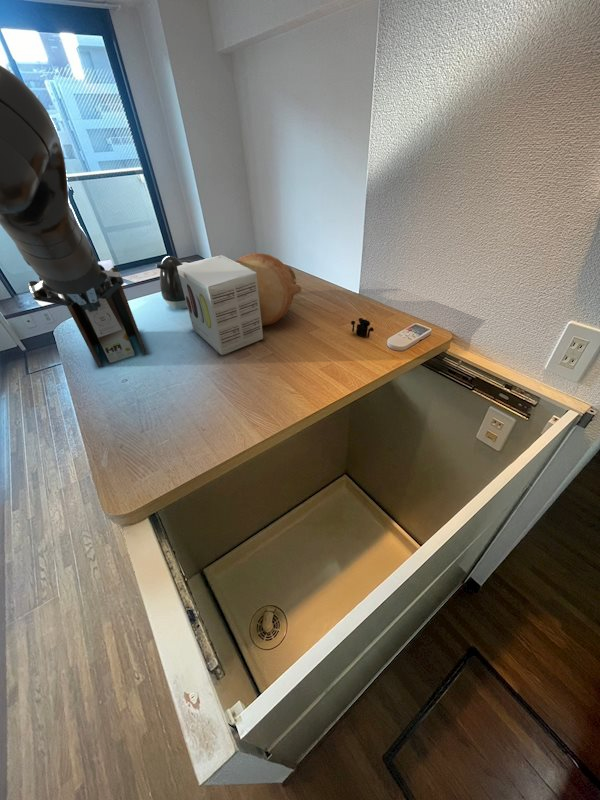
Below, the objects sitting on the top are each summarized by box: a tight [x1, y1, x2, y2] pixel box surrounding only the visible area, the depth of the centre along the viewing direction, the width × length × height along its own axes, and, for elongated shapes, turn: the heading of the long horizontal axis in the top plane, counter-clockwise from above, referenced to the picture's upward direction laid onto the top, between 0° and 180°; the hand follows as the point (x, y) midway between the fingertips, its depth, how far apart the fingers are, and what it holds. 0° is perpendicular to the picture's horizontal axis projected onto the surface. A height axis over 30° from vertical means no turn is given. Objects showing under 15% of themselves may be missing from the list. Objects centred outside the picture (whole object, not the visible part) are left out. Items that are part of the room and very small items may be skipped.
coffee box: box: [84, 295, 135, 364], centre depth 80 cm, size 9×6×16 cm
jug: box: [235, 252, 302, 327], centre depth 96 cm, size 20×19×30 cm
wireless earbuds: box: [350, 317, 375, 339], centre depth 88 cm, size 7×2×5 cm, turn 50°
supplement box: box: [177, 255, 264, 356], centre depth 84 cm, size 17×13×18 cm
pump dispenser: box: [155, 255, 188, 310], centre depth 100 cm, size 10×10×15 cm
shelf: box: [66, 259, 148, 368], centre depth 76 cm, size 12×13×31 cm
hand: (91, 306), depth 58 cm, fingers closed
